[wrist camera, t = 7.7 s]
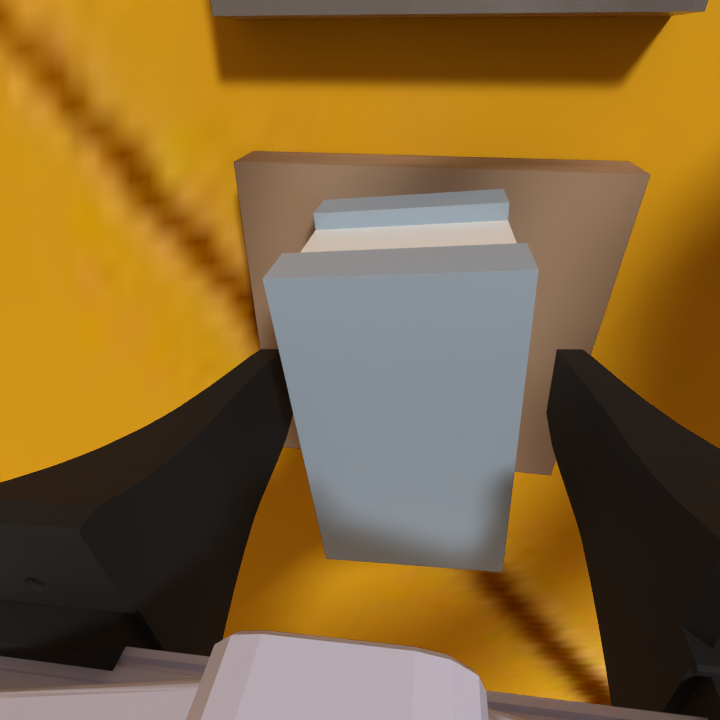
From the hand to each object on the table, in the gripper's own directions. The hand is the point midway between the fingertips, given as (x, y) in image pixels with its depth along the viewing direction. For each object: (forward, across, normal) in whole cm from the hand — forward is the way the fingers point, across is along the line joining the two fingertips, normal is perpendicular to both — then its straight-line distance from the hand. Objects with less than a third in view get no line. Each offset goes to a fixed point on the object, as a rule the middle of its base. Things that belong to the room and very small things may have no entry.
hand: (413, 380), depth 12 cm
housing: (+2, 0, 0) cm, 2 cm away
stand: (+3, 0, 0) cm, 3 cm away
